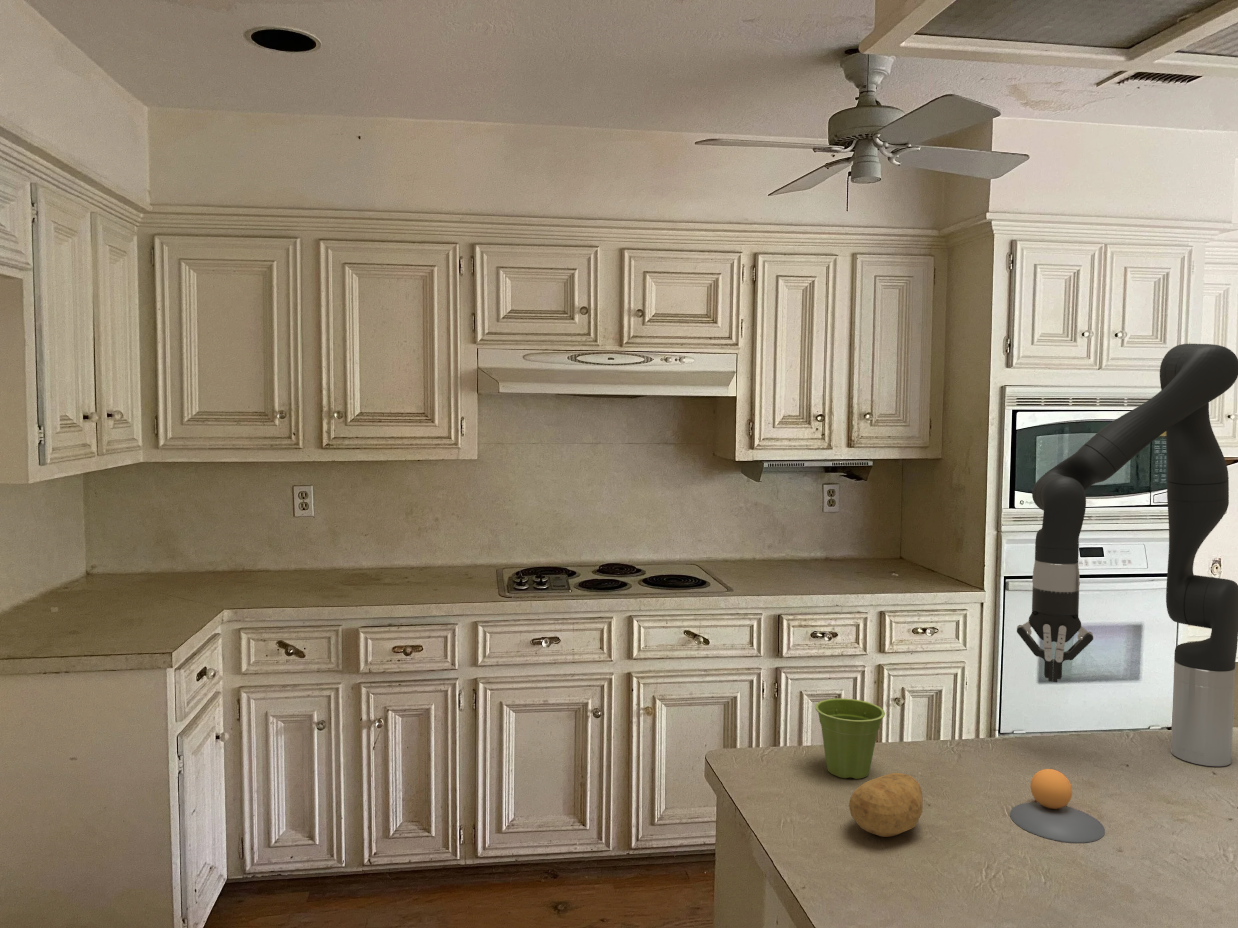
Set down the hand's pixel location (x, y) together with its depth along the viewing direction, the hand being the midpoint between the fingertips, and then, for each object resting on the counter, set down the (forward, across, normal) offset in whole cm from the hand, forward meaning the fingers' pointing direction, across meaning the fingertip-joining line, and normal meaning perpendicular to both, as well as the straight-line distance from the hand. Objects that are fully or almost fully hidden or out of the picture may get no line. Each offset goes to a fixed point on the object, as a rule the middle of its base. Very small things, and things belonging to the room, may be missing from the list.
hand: (1052, 680), depth 158 cm
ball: (+12, 0, -22) cm, 24 cm away
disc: (+14, +1, -27) cm, 31 cm away
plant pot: (+15, -32, -22) cm, 41 cm away
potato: (+15, -22, -41) cm, 49 cm away
